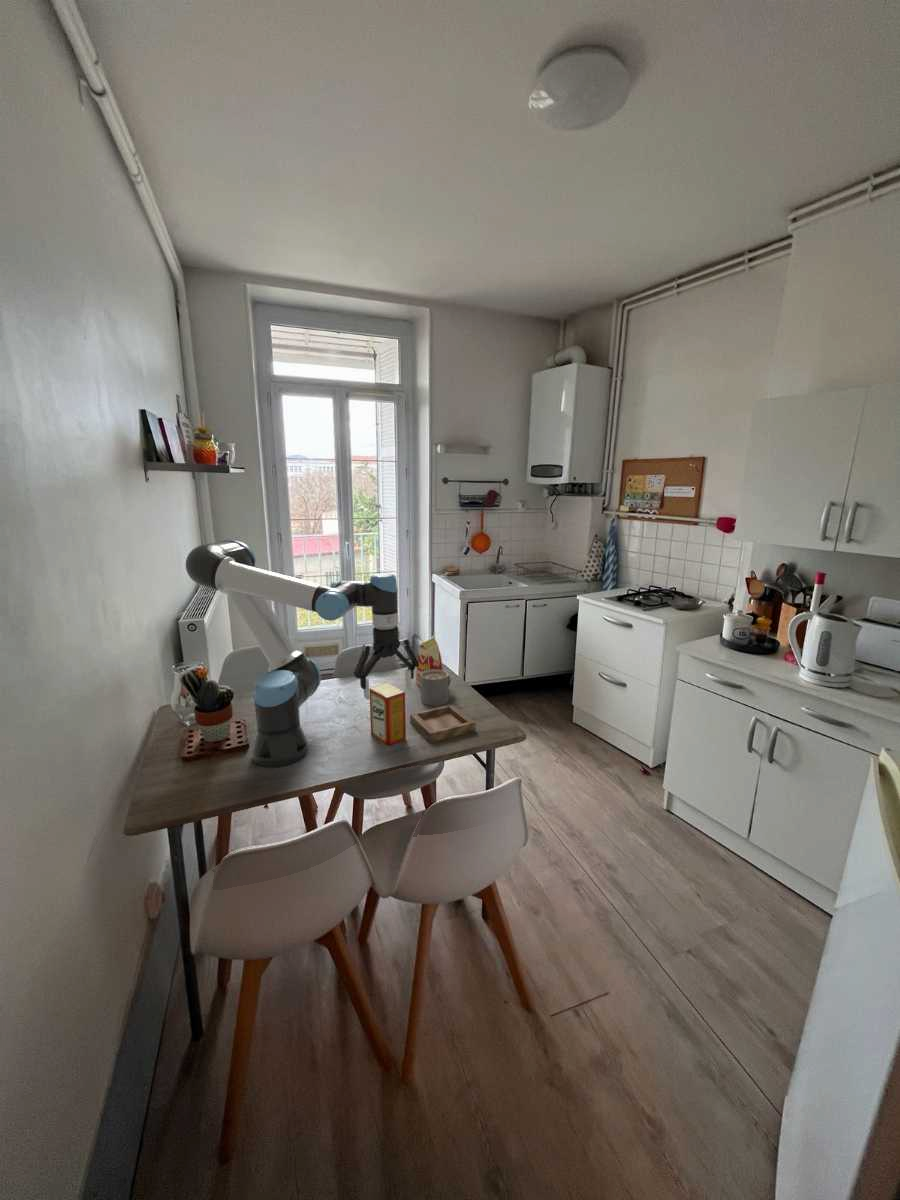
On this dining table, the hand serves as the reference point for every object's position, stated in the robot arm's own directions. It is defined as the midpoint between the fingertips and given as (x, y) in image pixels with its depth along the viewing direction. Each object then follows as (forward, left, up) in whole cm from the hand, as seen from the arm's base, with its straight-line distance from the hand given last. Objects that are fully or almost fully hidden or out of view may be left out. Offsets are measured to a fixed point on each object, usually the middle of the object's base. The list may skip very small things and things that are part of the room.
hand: (388, 693), depth 147 cm
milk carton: (+30, +31, -15) cm, 46 cm away
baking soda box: (0, 0, -15) cm, 15 cm away
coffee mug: (+27, +18, -15) cm, 36 cm away
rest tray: (+18, -2, -15) cm, 23 cm away
